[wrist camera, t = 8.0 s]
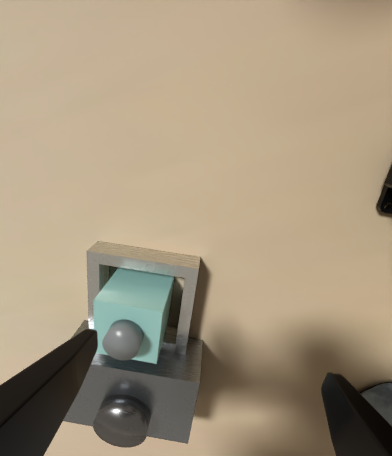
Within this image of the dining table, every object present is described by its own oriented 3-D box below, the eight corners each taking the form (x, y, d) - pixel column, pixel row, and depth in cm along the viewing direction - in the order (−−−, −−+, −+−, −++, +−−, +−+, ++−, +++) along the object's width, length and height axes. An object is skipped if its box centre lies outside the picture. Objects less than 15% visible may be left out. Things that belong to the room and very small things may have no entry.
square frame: (217, 260, 21) (218, 303, 15) (192, 395, 27) (186, 462, 21) (81, 238, 21) (33, 273, 16) (86, 377, 27) (52, 438, 22)
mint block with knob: (174, 275, 22) (158, 324, 16) (168, 319, 24) (152, 378, 18) (119, 265, 22) (84, 311, 16) (118, 310, 24) (86, 365, 18)
